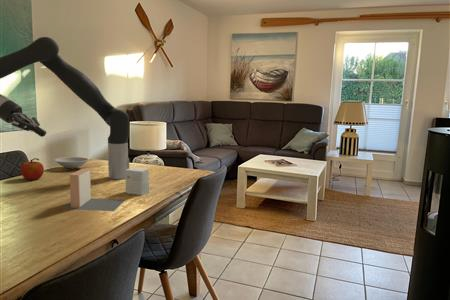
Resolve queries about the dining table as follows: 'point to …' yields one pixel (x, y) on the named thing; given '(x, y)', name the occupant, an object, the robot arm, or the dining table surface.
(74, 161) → the dish
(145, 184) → the small box
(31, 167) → the fruit
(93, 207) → the mat
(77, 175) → the pink rectangular block
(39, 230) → the dining table surface
